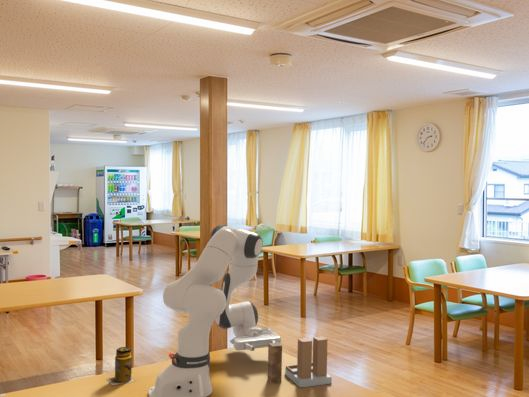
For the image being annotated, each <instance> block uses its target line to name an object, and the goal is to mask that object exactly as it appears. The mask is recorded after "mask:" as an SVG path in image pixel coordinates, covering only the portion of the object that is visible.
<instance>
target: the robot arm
mask: <svg viewBox="0 0 529 397" xmlns="http://www.w3.org/2000/svg"><path fill="white" fill-rule="evenodd" d="M262 248H263V238H262V237H261V235H260V234H258V233H257V232H254V231H252V232H251V231H249V230H245V229H242V228H240V227H235V226H227V225H222V224H218V225H216V226H215V227H214V228H213V229H212V231H211V232H210V235H209V241H208V242H207V243H206V245H205V247H204V249H203V250H202V252H201V254H200V256H199V257H198V259H197V260H196V262H195V264H194V265H193V266H192V267H191V268H190V269H189V270H188V271H187V272H186V273H185V274H184V275H182V276H181V277H179V278H178V279H177V280H175V281H172V282H170V283H168V284H167V285H166V287H165V288H164V291H163V294H162V299H163V300H162V301H163V303H164V305H165V306H166V307H168V308H169V309H171V310H173V311H175V312H178V313H183V314H188V316H189V317H188V321H187V323H186V324H184V325H183V326H181V328H180V329H179V330H178V332H177V352H176V353H174V352H172V351H170V352H169V353H168V357H169V359H170V360H171V364H169V365H168V366H167V367H166V368H165V369H163V370H162V371H160V373H158V374H157V376H156V378H155V379H156V380H155V384H154V385H153V386H151V387H149V389H148V393H147V394H148V397H209V396H210V395H212V393H213V387H212V383H211V377H210V365H211V353H210V351H209V348H210V333H211V329H212V325H213V323H215V324H216V325H217V327H219V328H221V329H223V330H228V329H230V328H232V332H233V334H234V336H235V337H233V338H232V339H230V340H229V342H230V344H232V345H233V348H234V349H235V350H236V351H247V350H248V351H250V352H253V351H255V349H261V348H262V349H264V348H268V343H276V342H278V343H280V344H281V345H282V337H281V335H279V334H278V333H276V332H274V331H272V329H271V328H267V327H266V328H263V327H257V325H258V321H259V314H258V309H257V307H256V306H255V305H254V304H253V303H252V302H251V301H249V300H248V301H242V302H241V301H240V302H237V303H232V304H230V303H231V298H232V295H233V294H232V293H233V292H234V291H235V289H237V288H238V287H240V286H242V285H244V284H246V283H247V282H249V281H251V280H252V279H253V278H255V276H256V275H257V272H258V266H259V265H258V263H259V261H258V260H259V258H258V256H260V254H261V252H262ZM229 265H230V267H229ZM228 267H229V269H228ZM227 269H228V271H227ZM226 271H227V272H226ZM220 280H222V281H221V286H220V289H219V288H217V287H215V286H212V284H215V283H217V282H219V281H220Z"/></svg>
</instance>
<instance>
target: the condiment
mask: <svg viewBox="0 0 529 397" xmlns="http://www.w3.org/2000/svg"><path fill="white" fill-rule="evenodd" d="M115 352H116V354H115V357H114V377H108V378H106V379H107V382H109V384H110V385H111V386H118V385H122V384H123V385H124V384H127V383H134V382H135V380H134V379H133V377H132V370H133V369H132V363H133V362H132V361H133V360H132V359H133V358H132V357H133V356H132V353H131V352H132V349H131V347H129V346H121V347H118V348H117V349H116V351H115Z"/></svg>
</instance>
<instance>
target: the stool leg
mask: <svg viewBox="0 0 529 397" xmlns="http://www.w3.org/2000/svg"><path fill="white" fill-rule="evenodd" d="M267 351H268V353H267V354H268V355H267V380H268V381H269V383H271V384H276V383H282V371H283V368H282V365H283V345H282V343H281V344H280V343H278V342H276V343H268V347H267Z"/></svg>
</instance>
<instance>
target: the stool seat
mask: <svg viewBox="0 0 529 397" xmlns="http://www.w3.org/2000/svg"><path fill="white" fill-rule="evenodd" d="M296 361H297V363H296V364H292V365H290V364H289V365H285V368H284V370H285V372H284V375H287V376H286V377H287V378H288V379H289V380H291V381H292V383H293V382H294V384H295V385H297V386H298V387H299V388H300V389H301V388H302V387H303V388H309V387H313V386H314V387H316V386H322V385H328V384H329V385H331V384H332V380H333V379H332V376H331V375H329V374H328V373H327V372H328V339H327V337H324V336H322V335H321V336H313V337H312V340H311V339H310V338H309V337H304V338H297V360H296Z"/></svg>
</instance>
